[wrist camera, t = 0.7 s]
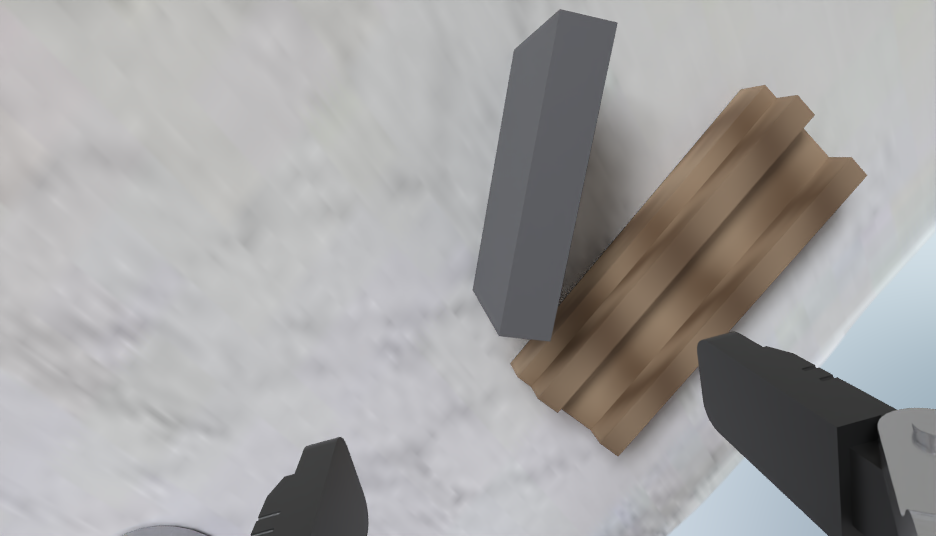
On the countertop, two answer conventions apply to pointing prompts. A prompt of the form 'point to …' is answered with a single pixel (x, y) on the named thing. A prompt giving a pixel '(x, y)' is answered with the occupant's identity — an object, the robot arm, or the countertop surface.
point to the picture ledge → (687, 266)
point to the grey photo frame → (541, 171)
